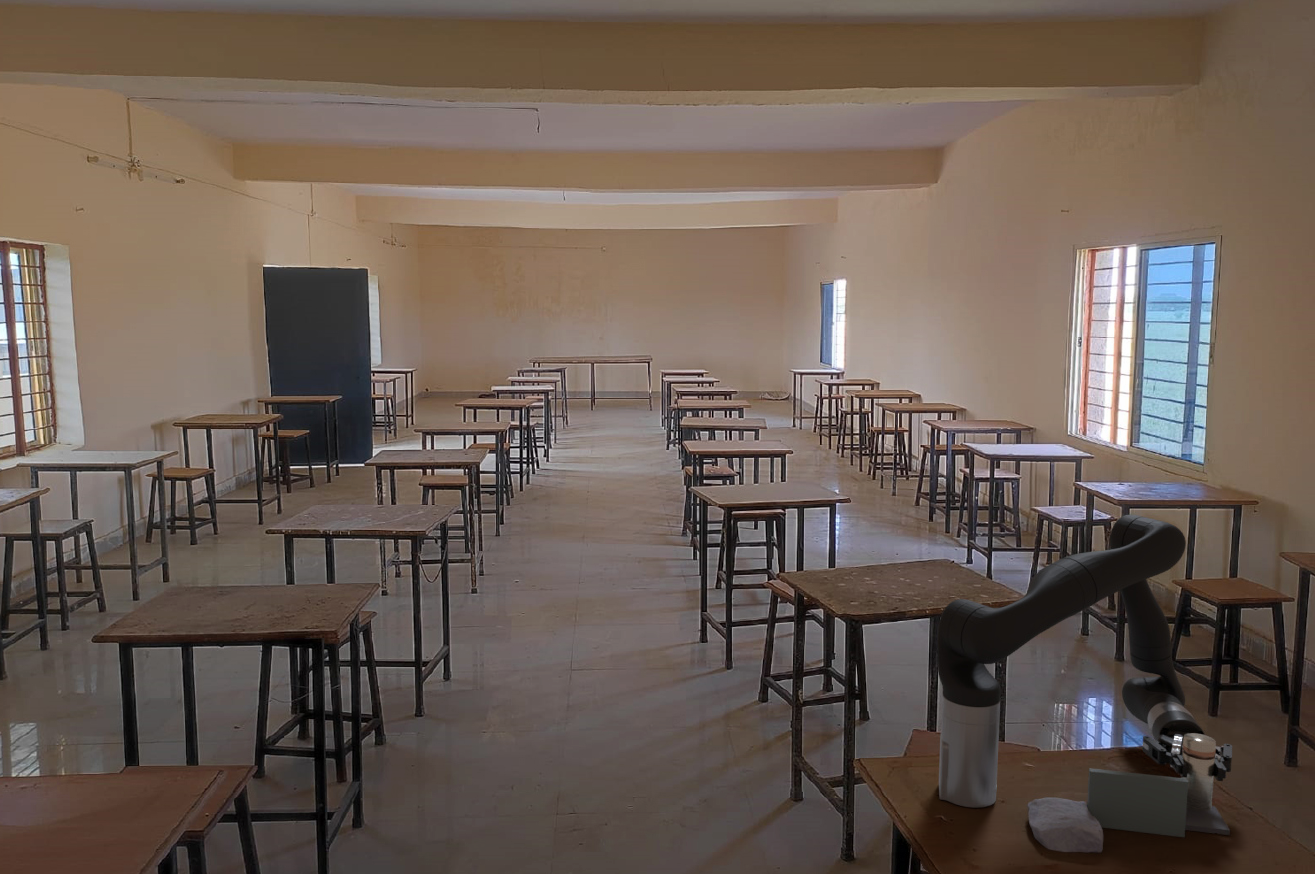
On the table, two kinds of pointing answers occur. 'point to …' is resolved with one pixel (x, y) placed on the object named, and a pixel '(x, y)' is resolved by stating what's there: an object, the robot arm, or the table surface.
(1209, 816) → the dark rubber mat
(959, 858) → the table surface
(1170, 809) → the slate screen
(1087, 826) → the stone block
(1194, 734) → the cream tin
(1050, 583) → the robot arm
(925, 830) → the table surface
